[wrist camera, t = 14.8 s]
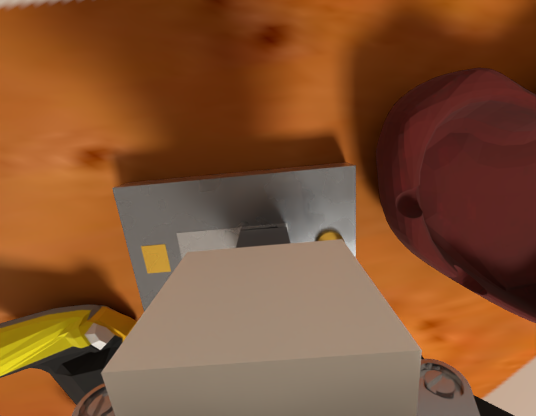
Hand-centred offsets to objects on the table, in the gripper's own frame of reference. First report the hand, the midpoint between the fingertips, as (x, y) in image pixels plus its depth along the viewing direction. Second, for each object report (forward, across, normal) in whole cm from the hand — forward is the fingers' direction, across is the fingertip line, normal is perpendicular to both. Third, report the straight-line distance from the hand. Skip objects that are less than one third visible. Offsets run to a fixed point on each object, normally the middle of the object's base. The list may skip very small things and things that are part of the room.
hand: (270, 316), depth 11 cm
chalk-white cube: (0, 0, 0) cm, 0 cm away
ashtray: (+9, -16, -2) cm, 19 cm away
